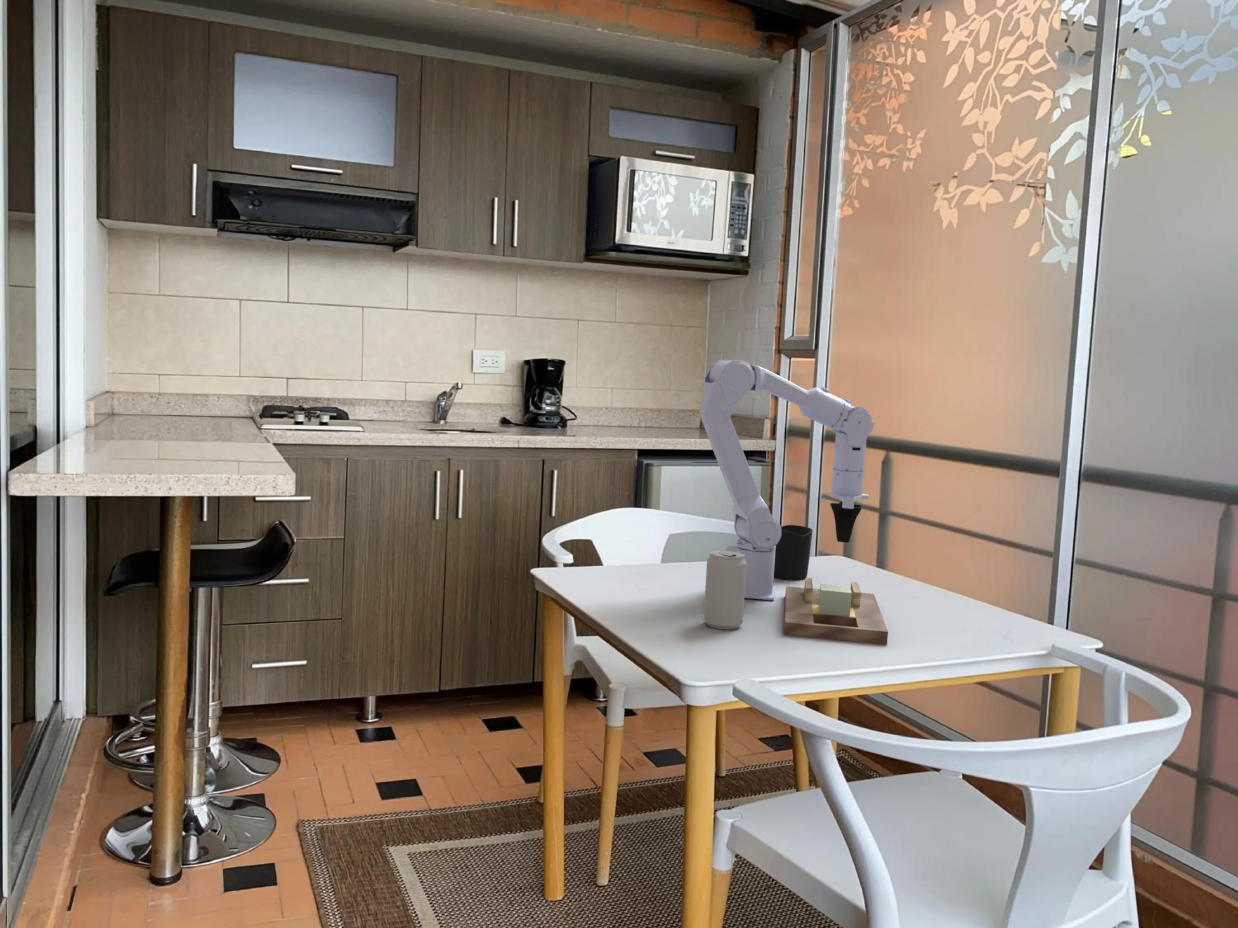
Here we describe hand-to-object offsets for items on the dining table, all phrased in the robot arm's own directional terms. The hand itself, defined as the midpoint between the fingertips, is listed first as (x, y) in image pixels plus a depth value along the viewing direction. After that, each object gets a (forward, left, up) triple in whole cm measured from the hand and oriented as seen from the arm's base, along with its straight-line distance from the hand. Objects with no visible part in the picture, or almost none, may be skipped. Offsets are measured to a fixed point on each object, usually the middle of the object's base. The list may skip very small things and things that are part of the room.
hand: (842, 541), depth 195 cm
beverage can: (-20, -31, -11) cm, 38 cm away
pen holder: (-10, +15, -11) cm, 21 cm away
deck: (-2, -19, -10) cm, 22 cm away
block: (-2, -22, -8) cm, 24 cm away
